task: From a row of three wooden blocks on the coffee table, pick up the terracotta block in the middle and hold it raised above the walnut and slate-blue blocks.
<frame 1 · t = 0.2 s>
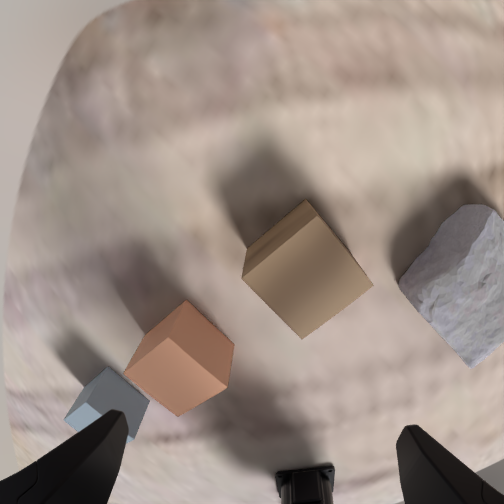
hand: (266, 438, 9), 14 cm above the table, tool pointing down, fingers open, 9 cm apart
slate blue block: (115, 393, 27), on the table
terracotta block: (188, 339, 24), on the table
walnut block: (300, 251, 21), on the table
stone block: (468, 277, 22), on the table
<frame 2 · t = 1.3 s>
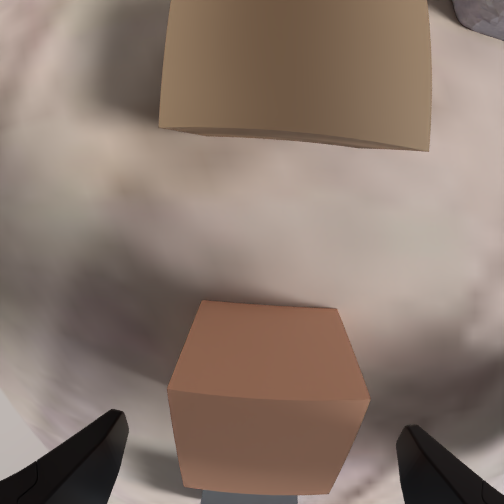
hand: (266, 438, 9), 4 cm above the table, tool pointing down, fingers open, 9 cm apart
slate blue block: (249, 488, 16), on the table
terracotta block: (264, 358, 13), on the table
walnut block: (288, 67, 9), on the table
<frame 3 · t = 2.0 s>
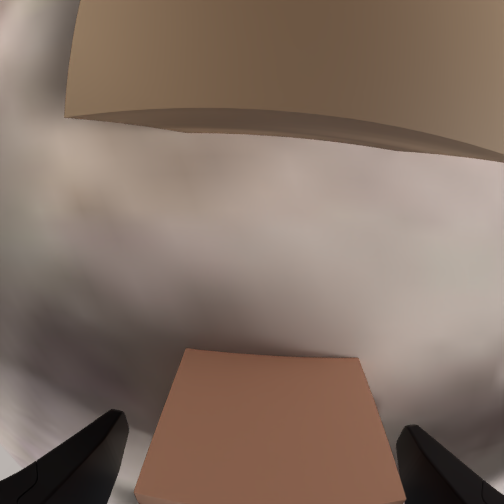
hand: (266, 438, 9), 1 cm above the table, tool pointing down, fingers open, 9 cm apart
terracotta block: (266, 413, 10), on the table
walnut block: (300, 39, 6), on the table
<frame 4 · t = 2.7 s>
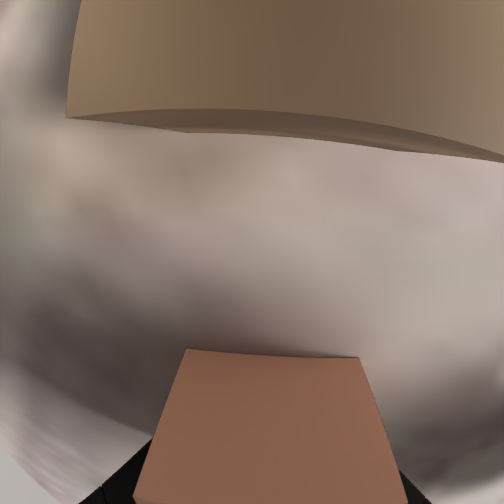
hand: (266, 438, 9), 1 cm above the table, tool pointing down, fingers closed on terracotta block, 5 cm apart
terracotta block: (266, 414, 10), on the table, touching gripper
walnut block: (300, 39, 6), on the table
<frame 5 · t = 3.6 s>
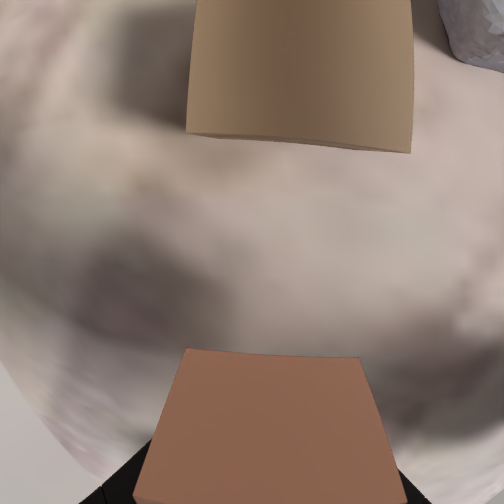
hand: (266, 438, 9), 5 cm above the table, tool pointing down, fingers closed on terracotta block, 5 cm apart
terracotta block: (266, 414, 10), point 4 cm above the table, touching gripper
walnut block: (291, 77, 10), on the table
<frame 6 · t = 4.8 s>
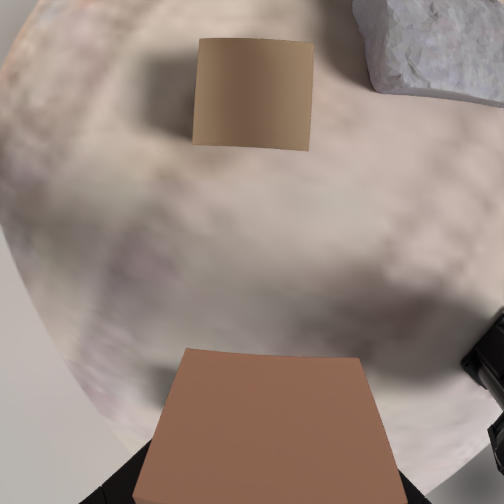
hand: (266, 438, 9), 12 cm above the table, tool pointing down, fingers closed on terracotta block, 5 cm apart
terracotta block: (266, 414, 10), point 11 cm above the table, touching gripper
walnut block: (256, 105, 17), on the table
stone block: (433, 35, 15), on the table
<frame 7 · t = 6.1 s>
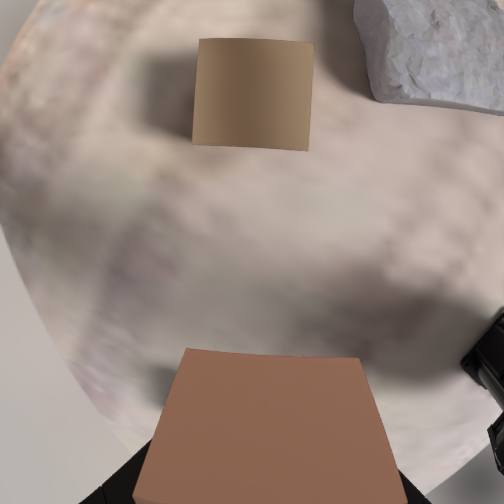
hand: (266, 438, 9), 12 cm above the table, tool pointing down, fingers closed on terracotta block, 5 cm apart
terracotta block: (266, 414, 10), point 11 cm above the table, touching gripper
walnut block: (256, 105, 17), on the table
stone block: (434, 43, 15), on the table
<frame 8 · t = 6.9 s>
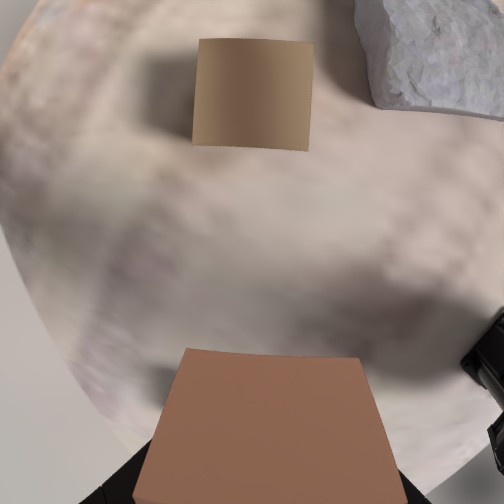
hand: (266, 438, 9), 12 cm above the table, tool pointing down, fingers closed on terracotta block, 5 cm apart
terracotta block: (266, 414, 10), point 11 cm above the table, touching gripper
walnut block: (256, 105, 17), on the table
stone block: (435, 48, 16), on the table
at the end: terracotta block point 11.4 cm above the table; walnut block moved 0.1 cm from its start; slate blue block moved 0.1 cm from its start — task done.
